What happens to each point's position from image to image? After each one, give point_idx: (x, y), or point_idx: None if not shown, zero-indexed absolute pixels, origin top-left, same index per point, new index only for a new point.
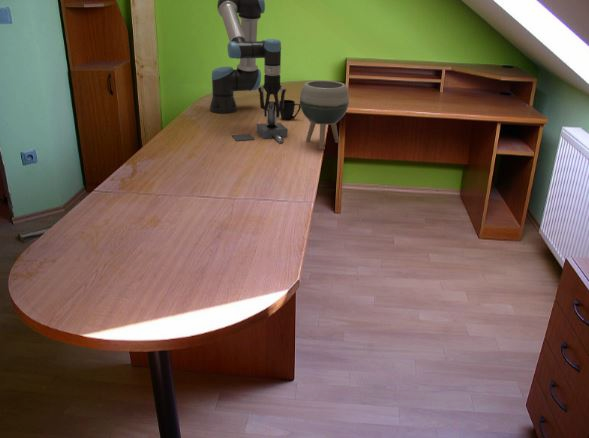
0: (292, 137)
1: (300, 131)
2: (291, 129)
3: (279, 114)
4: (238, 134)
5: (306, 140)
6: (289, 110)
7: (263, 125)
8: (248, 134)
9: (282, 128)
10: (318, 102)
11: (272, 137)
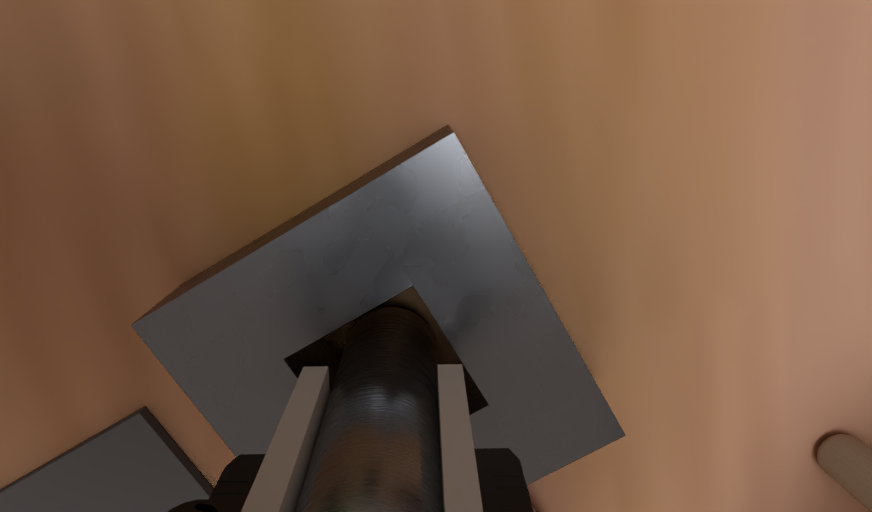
0: (652, 372)
1: (737, 87)
2: (603, 18)
3: (524, 477)
4: (33, 476)
5: (820, 465)
6: None
7: (254, 363)
8: (140, 446)
9: (553, 428)
10: None
11: None
